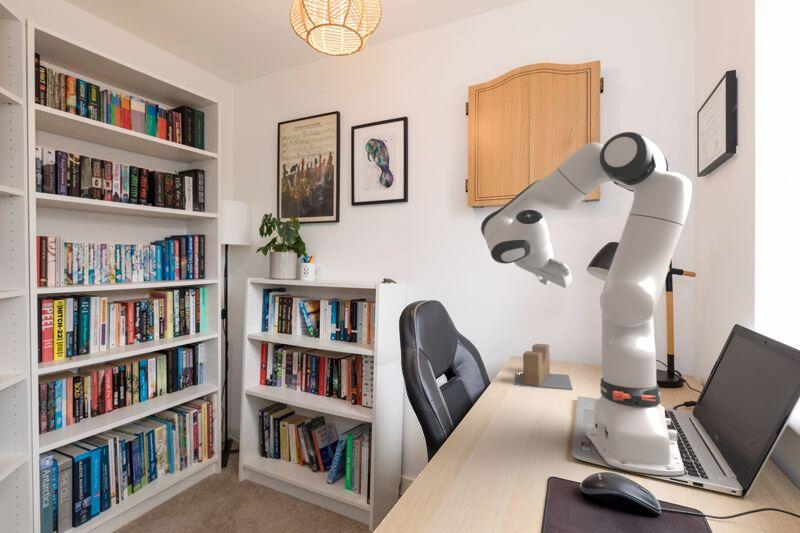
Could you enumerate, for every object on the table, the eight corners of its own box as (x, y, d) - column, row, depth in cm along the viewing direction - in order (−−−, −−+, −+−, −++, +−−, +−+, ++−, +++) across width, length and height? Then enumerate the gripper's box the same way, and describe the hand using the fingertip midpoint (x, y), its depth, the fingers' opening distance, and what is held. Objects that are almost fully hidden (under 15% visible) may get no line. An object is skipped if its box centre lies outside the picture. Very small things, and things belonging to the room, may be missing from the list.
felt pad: (572, 390, 131) (572, 388, 131) (513, 385, 137) (513, 384, 137) (568, 375, 148) (568, 374, 148) (516, 372, 154) (516, 371, 154)
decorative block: (539, 354, 134) (549, 344, 152) (522, 353, 137) (534, 343, 154) (540, 386, 134) (550, 372, 151) (523, 384, 137) (535, 371, 154)
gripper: (574, 259, 114) (579, 289, 123) (519, 237, 130) (527, 265, 138) (560, 273, 113) (566, 302, 122) (506, 249, 128) (515, 277, 137)
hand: (545, 282), depth 130 cm, fingers closed
